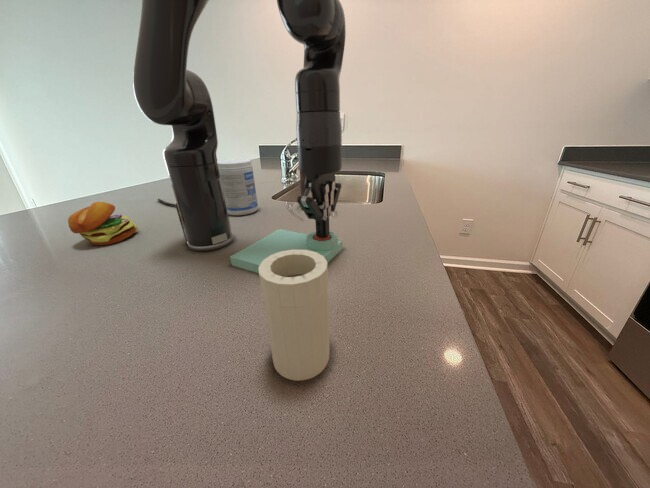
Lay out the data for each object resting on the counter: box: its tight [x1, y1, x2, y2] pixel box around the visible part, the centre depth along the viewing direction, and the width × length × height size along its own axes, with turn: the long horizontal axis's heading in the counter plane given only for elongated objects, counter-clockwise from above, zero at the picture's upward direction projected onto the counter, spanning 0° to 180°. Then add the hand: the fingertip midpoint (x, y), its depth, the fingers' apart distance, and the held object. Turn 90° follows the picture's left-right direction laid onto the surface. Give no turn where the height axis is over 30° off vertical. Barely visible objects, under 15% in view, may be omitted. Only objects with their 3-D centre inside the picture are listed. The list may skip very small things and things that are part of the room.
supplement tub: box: [217, 158, 259, 216], centre depth 75 cm, size 10×10×15 cm
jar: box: [258, 250, 331, 382], centre depth 27 cm, size 6×6×12 cm
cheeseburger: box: [67, 201, 139, 246], centre depth 59 cm, size 10×11×10 cm
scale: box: [229, 228, 343, 274], centre depth 50 cm, size 16×15×4 cm
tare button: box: [314, 235, 330, 241], centre depth 51 cm, size 3×3×2 cm
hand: (322, 236), depth 51 cm, fingers closed
